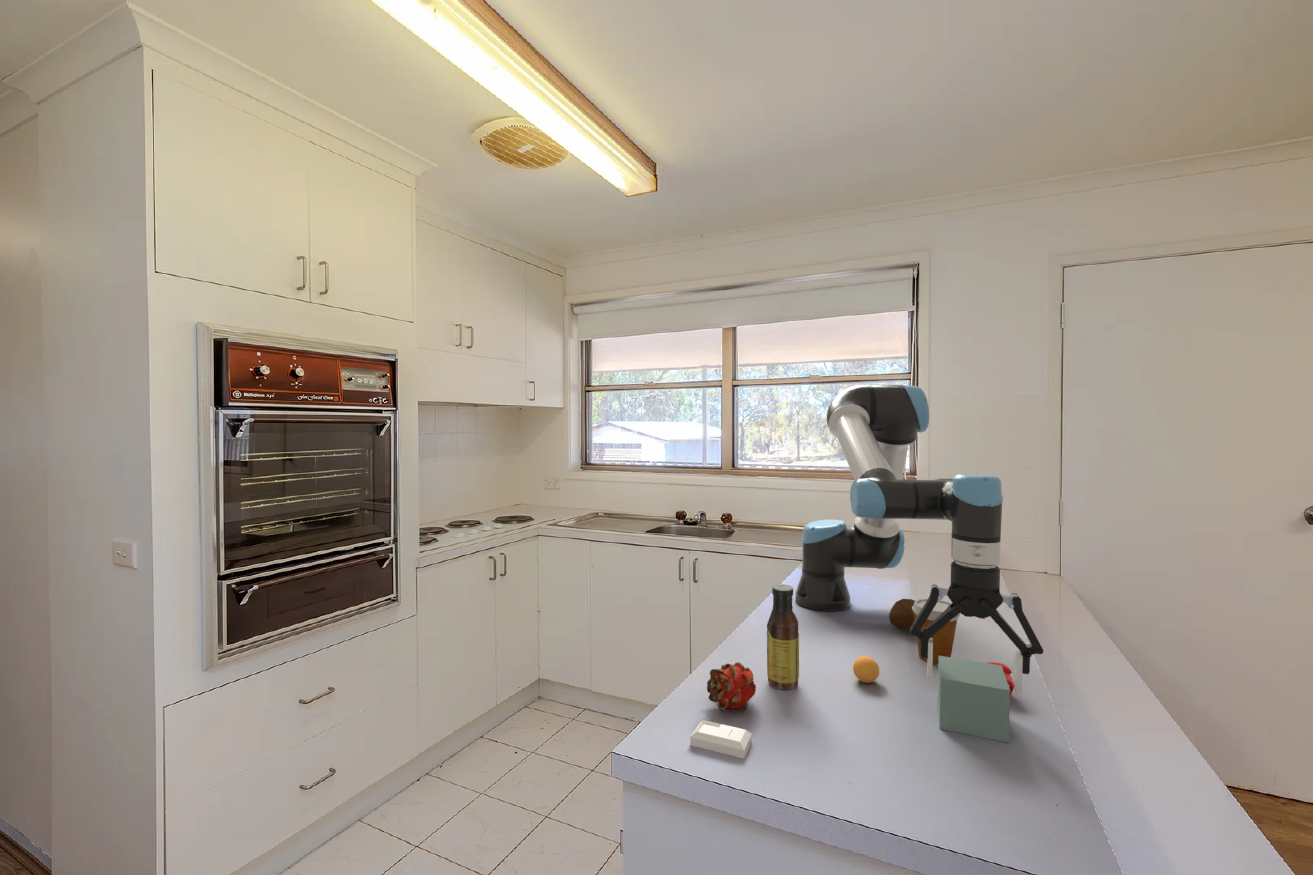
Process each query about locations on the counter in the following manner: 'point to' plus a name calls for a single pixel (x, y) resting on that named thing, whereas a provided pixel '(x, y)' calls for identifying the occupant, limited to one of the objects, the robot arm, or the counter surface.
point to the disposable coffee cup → (943, 636)
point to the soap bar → (721, 738)
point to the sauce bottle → (782, 640)
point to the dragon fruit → (731, 686)
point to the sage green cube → (973, 698)
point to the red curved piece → (1006, 675)
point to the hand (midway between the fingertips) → (972, 683)
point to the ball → (866, 669)
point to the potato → (902, 614)
